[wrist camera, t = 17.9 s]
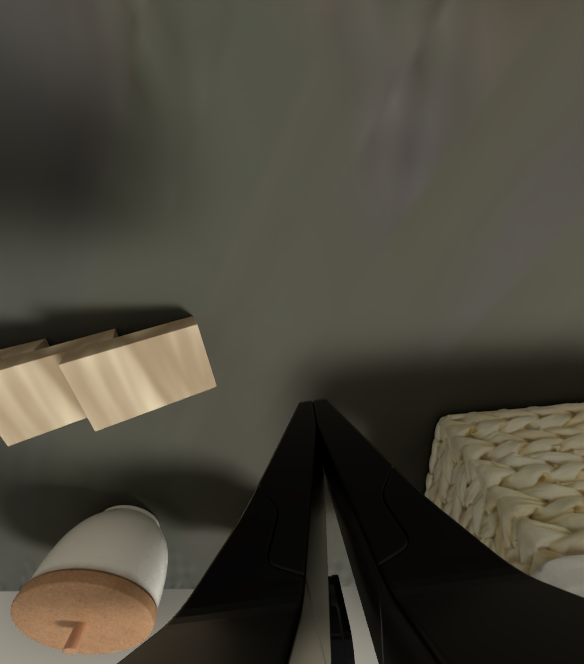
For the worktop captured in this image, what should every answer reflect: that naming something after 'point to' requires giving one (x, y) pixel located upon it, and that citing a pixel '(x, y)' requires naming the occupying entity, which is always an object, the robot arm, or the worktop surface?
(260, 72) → the worktop surface
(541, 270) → the worktop surface
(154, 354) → the domino
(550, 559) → the storage basket
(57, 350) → the domino
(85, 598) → the lidded jar
